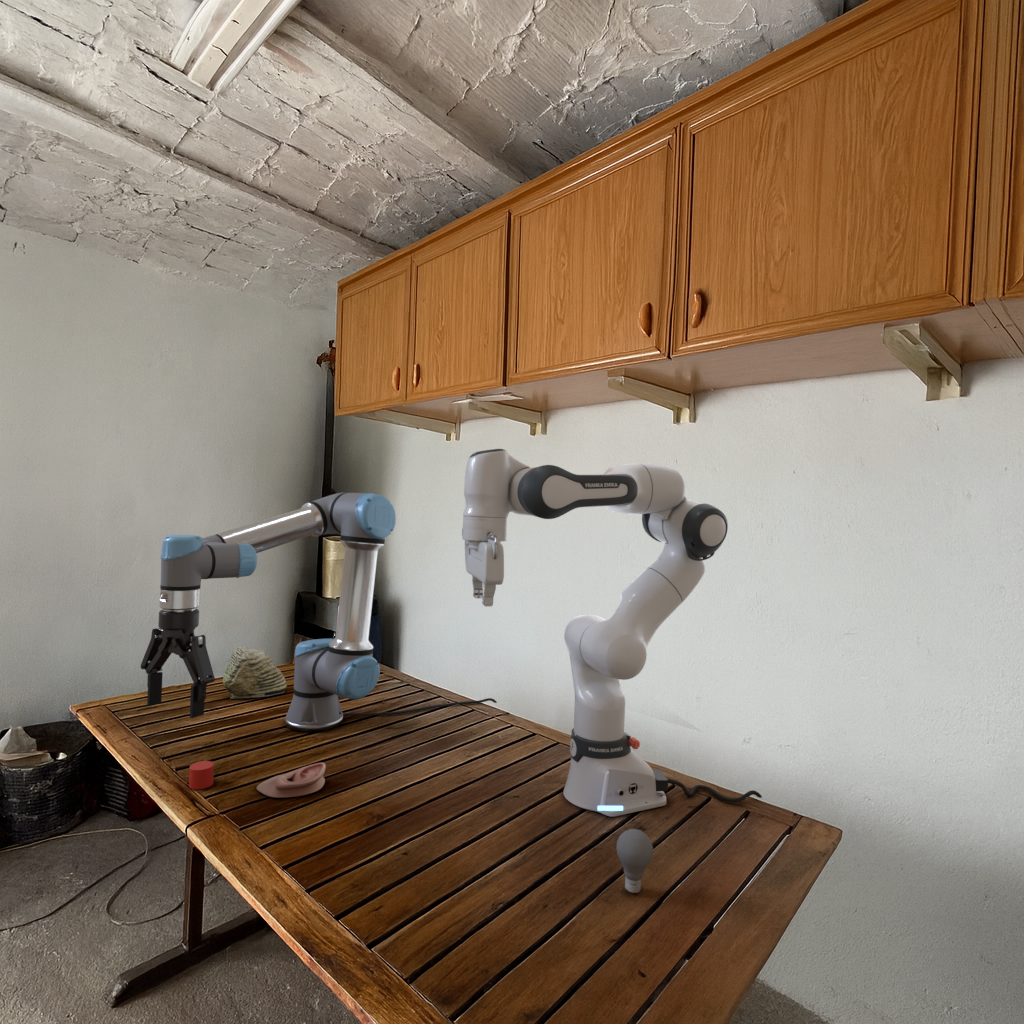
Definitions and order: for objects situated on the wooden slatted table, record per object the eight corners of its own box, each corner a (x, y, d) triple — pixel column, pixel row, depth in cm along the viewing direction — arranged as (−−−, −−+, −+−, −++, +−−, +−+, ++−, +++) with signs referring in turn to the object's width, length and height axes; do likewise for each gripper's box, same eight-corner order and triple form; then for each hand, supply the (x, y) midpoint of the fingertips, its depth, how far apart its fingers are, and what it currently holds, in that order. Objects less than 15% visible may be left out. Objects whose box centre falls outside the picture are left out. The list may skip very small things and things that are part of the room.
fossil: (218, 695, 195) (220, 647, 195) (278, 685, 208) (279, 640, 207) (228, 703, 189) (230, 653, 188) (289, 692, 201) (290, 645, 201)
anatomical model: (248, 775, 133) (279, 754, 144) (247, 794, 133) (278, 771, 144) (306, 783, 130) (332, 761, 142) (305, 802, 130) (332, 779, 142)
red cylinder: (185, 783, 137) (186, 764, 137) (208, 777, 140) (209, 759, 140) (193, 791, 134) (194, 772, 134) (216, 785, 137) (217, 765, 137)
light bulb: (610, 879, 108) (613, 822, 108) (644, 879, 109) (647, 822, 109) (619, 902, 102) (622, 840, 102) (655, 901, 103) (658, 840, 103)
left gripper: (124, 604, 135) (120, 703, 135) (204, 618, 124) (199, 726, 124) (158, 600, 142) (153, 694, 142) (236, 613, 130) (231, 716, 131)
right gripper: (513, 535, 115) (511, 611, 115) (490, 529, 135) (487, 593, 135) (479, 534, 113) (476, 611, 113) (460, 528, 133) (458, 593, 133)
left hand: (175, 709), depth 133 cm, fingers open, 13 cm apart
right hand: (482, 601), depth 124 cm, fingers open, 8 cm apart
